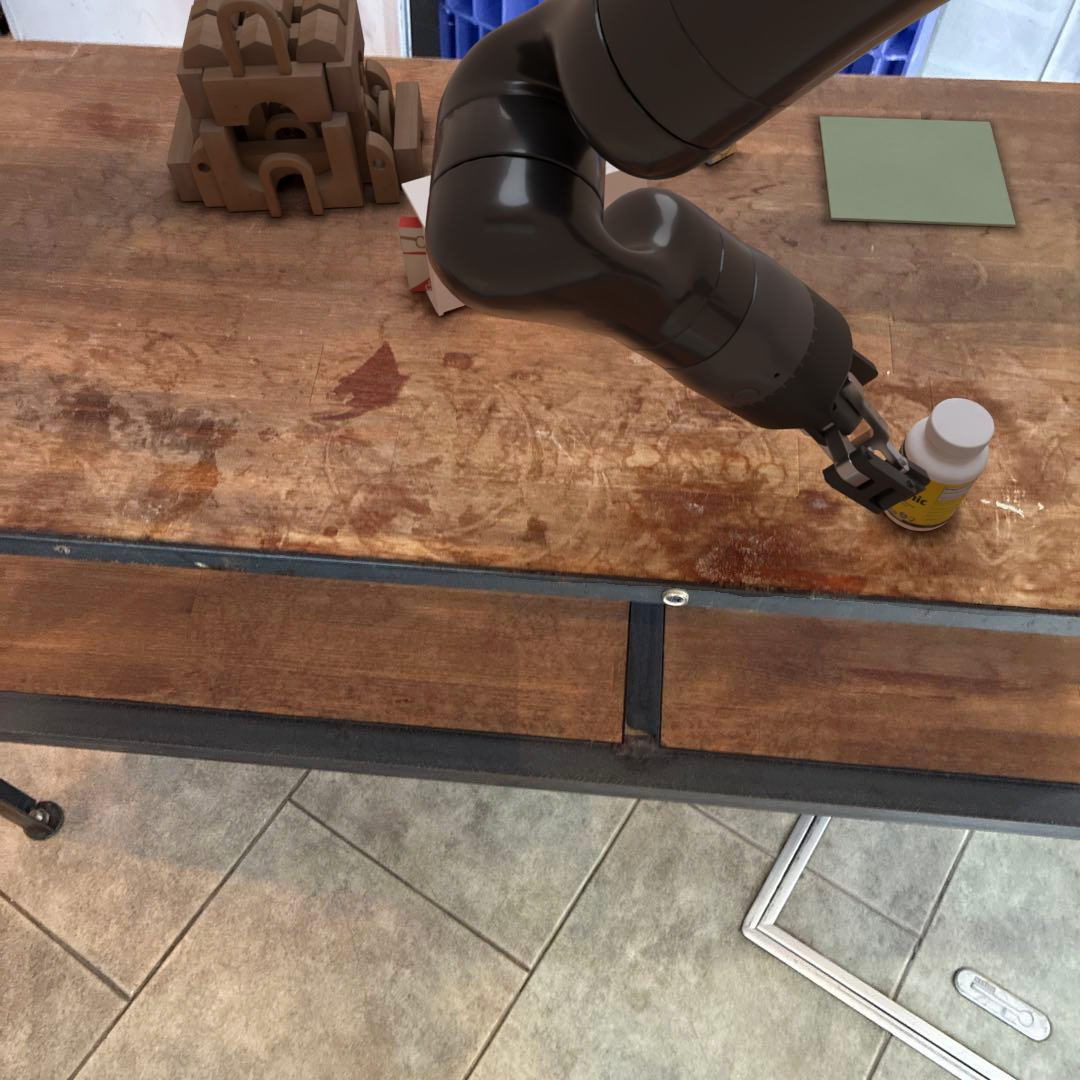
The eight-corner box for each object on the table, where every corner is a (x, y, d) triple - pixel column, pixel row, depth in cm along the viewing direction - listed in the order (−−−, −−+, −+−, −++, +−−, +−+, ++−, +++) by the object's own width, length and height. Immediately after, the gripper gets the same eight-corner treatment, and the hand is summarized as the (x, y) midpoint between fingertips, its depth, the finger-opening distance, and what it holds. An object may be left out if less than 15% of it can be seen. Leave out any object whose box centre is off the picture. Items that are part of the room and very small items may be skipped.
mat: (988, 124, 91) (989, 121, 90) (1014, 227, 84) (1015, 224, 83) (819, 118, 91) (819, 116, 91) (830, 220, 84) (831, 217, 84)
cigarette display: (612, 211, 85) (618, 118, 77) (640, 251, 83) (649, 160, 75) (402, 278, 82) (385, 188, 73) (424, 322, 79) (409, 234, 71)
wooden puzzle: (424, 107, 93) (396, -98, 77) (422, 211, 86) (391, 7, 70) (198, 118, 93) (123, -87, 76) (178, 222, 85) (89, 21, 69)
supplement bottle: (863, 482, 70) (905, 399, 62) (929, 463, 71) (979, 379, 63) (898, 542, 68) (947, 464, 59) (966, 522, 69) (1024, 442, 60)
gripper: (858, 402, 44) (993, 493, 55) (762, 195, 51) (898, 313, 62) (728, 485, 48) (878, 555, 59) (656, 283, 55) (802, 379, 66)
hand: (888, 431), depth 60 cm, fingers open, 8 cm apart
